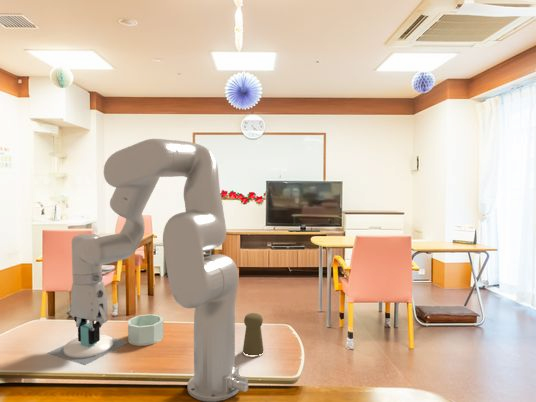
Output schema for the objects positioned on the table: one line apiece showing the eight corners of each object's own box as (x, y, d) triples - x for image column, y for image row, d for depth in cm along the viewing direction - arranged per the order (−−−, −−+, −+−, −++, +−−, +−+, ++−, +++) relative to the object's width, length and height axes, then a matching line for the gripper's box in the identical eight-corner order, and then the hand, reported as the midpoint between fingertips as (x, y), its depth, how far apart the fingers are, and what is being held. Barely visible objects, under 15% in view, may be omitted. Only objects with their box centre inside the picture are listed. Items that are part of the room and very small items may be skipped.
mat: (128, 343, 116) (128, 342, 115) (85, 366, 102) (85, 364, 102) (92, 334, 122) (92, 333, 122) (47, 354, 108) (47, 353, 108)
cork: (250, 345, 115) (250, 309, 114) (267, 350, 112) (268, 313, 111) (238, 354, 110) (238, 315, 109) (256, 359, 107) (256, 320, 106)
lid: (123, 342, 115) (123, 321, 115) (86, 362, 103) (85, 338, 103) (91, 334, 120) (91, 314, 120) (52, 352, 109) (52, 329, 108)
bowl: (169, 336, 121) (169, 317, 120) (147, 349, 112) (146, 329, 111) (144, 330, 125) (144, 312, 125) (120, 343, 116) (120, 323, 116)
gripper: (119, 278, 110) (120, 341, 112) (78, 271, 117) (80, 331, 119) (97, 285, 103) (99, 352, 105) (55, 277, 110) (57, 340, 112)
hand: (89, 340), depth 112 cm, fingers open, 3 cm apart
